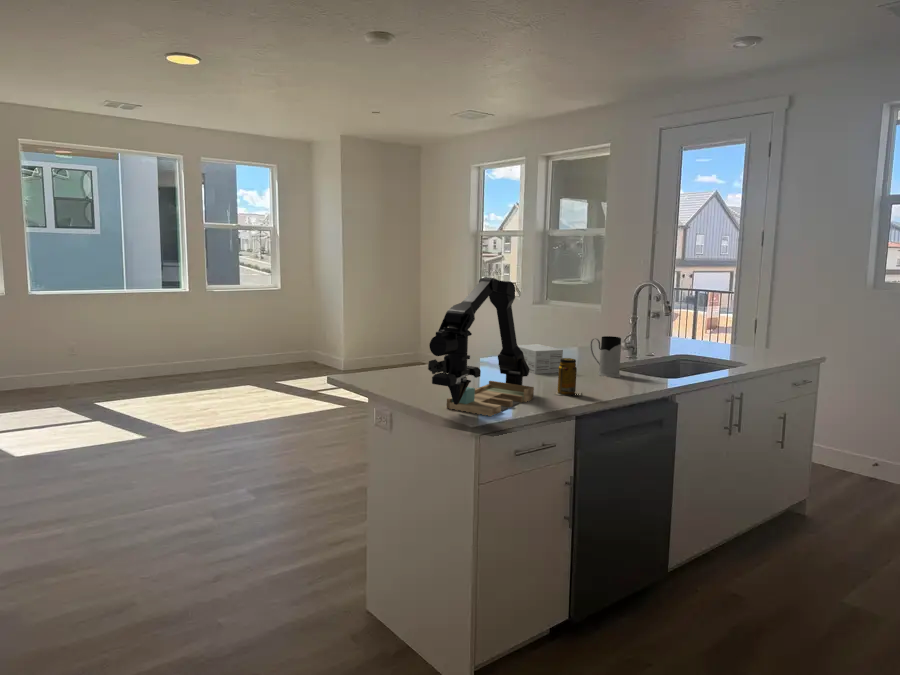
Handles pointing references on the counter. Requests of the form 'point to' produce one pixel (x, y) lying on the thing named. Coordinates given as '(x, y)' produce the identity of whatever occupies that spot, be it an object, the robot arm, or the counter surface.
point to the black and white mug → (609, 356)
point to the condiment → (567, 377)
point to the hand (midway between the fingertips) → (456, 404)
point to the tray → (495, 398)
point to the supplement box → (542, 358)
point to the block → (468, 396)
